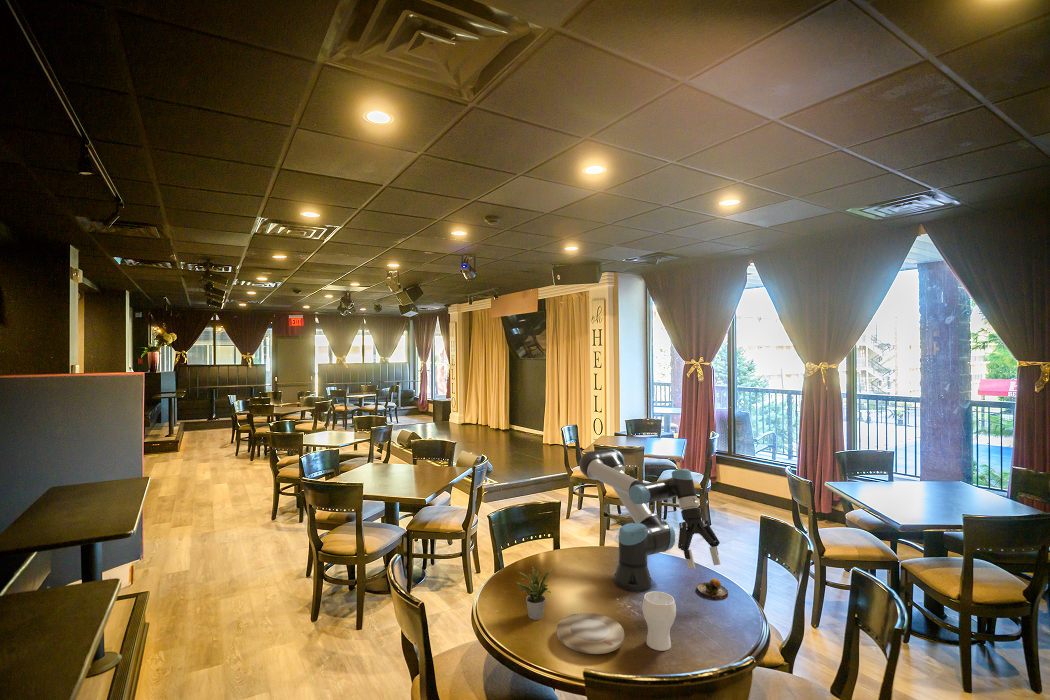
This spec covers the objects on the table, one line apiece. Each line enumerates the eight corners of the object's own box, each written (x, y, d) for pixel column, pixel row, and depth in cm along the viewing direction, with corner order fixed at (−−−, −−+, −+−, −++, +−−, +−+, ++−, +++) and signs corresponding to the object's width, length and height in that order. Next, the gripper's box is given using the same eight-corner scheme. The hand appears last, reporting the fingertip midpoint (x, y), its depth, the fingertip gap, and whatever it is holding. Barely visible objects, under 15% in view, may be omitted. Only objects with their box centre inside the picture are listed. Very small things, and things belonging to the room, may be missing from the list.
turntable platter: (544, 627, 170) (544, 623, 170) (594, 611, 181) (594, 606, 181) (584, 661, 151) (585, 656, 151) (638, 641, 163) (638, 636, 163)
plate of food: (704, 583, 210) (704, 565, 210) (732, 593, 202) (733, 574, 202) (691, 593, 201) (691, 574, 202) (720, 603, 193) (720, 584, 193)
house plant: (536, 600, 193) (537, 557, 193) (564, 614, 183) (564, 569, 183) (509, 613, 183) (510, 568, 183) (536, 629, 173) (537, 581, 173)
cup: (677, 655, 158) (677, 607, 159) (642, 651, 161) (643, 603, 161) (674, 637, 169) (674, 592, 169) (641, 633, 171) (642, 588, 171)
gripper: (673, 508, 191) (688, 569, 182) (719, 505, 203) (734, 562, 194) (660, 512, 197) (673, 570, 188) (705, 509, 209) (719, 564, 200)
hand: (704, 566), depth 191 cm, fingers open, 13 cm apart
